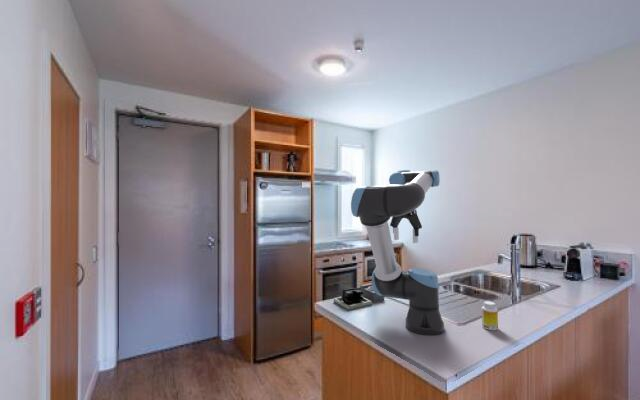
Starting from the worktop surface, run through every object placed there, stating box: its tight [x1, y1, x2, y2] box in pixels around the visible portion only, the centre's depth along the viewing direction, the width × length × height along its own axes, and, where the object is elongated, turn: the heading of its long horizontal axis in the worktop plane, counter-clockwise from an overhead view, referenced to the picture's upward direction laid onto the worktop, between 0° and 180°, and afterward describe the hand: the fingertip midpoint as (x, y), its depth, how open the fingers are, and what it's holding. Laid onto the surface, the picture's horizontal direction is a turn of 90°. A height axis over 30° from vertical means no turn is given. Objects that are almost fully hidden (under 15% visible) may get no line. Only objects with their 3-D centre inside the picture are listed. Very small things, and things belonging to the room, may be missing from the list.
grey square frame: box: [333, 296, 373, 312], centre depth 148 cm, size 14×14×2 cm
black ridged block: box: [340, 287, 364, 305], centre depth 148 cm, size 10×7×7 cm
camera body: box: [359, 282, 385, 303], centre depth 156 cm, size 12×7×6 cm, turn 28°
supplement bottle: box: [481, 300, 499, 331], centre depth 117 cm, size 6×6×10 cm
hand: (405, 241), depth 149 cm, fingers open, 13 cm apart
